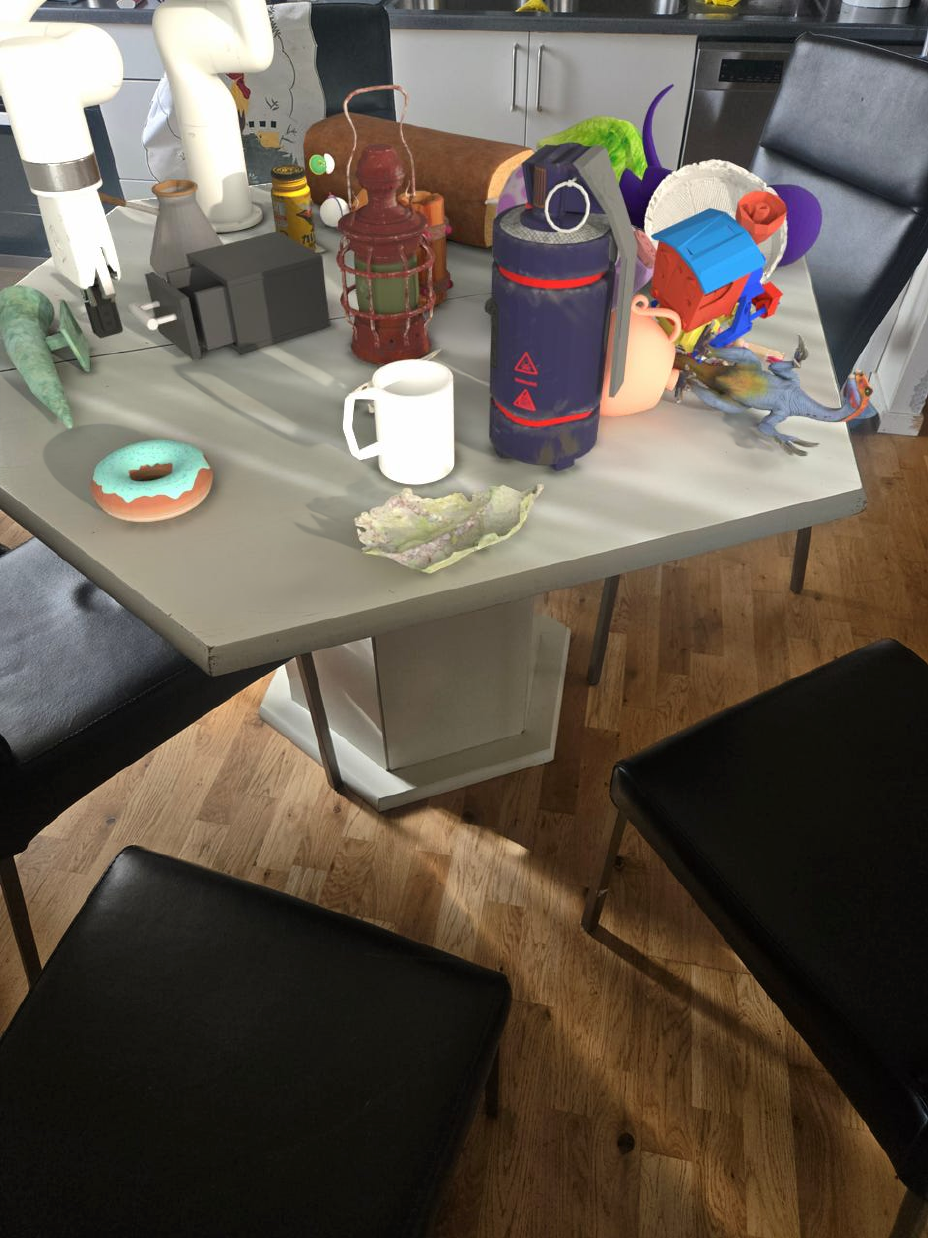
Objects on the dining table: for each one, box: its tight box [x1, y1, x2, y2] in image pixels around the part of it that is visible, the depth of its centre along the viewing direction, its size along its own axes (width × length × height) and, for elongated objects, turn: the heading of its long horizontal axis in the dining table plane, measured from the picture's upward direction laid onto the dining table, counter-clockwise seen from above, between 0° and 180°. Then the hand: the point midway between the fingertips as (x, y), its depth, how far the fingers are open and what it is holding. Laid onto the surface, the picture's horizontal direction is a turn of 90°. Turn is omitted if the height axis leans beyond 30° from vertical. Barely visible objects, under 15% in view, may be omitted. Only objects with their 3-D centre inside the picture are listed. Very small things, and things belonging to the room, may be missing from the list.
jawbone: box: [347, 348, 442, 414], centre depth 110 cm, size 17×5×2 cm, turn 148°
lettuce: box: [536, 115, 648, 185], centre depth 150 cm, size 15×22×15 cm, turn 54°
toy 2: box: [495, 164, 657, 312], centre depth 121 cm, size 17×23×30 cm
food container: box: [644, 159, 788, 285], centre depth 127 cm, size 20×20×7 cm
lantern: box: [335, 84, 436, 365], centre depth 107 cm, size 12×12×30 cm
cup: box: [342, 358, 455, 485], centre depth 93 cm, size 8×12×10 cm
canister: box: [488, 142, 638, 472], centre depth 89 cm, size 14×12×30 cm
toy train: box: [649, 191, 787, 364], centre depth 100 cm, size 10×16×15 cm, turn 118°
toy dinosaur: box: [672, 319, 874, 457], centre depth 102 cm, size 11×22×20 cm
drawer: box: [127, 265, 236, 361], centre depth 115 cm, size 16×10×8 cm, turn 128°
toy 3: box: [619, 83, 823, 268], centre depth 135 cm, size 21×24×30 cm
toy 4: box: [675, 326, 786, 366], centre depth 110 cm, size 7×6×15 cm
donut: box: [90, 438, 214, 523], centre depth 91 cm, size 12×12×4 cm
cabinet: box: [186, 230, 331, 355], centre depth 119 cm, size 14×12×10 cm
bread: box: [302, 111, 536, 249], centre depth 150 cm, size 16×39×13 cm, turn 54°
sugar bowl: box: [599, 293, 681, 417], centre depth 101 cm, size 12×14×10 cm
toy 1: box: [309, 154, 350, 233], centre depth 147 cm, size 6×12×8 cm
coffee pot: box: [97, 179, 224, 281], centre depth 128 cm, size 21×12×15 cm, turn 114°
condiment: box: [270, 164, 327, 254], centre depth 139 cm, size 7×8×12 cm
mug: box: [350, 188, 454, 308], centre depth 124 cm, size 15×8×15 cm, turn 71°
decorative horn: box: [0, 284, 91, 430], centre depth 109 cm, size 7×11×30 cm
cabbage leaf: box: [354, 482, 545, 574], centre depth 85 cm, size 16×8×15 cm
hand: (108, 332), depth 110 cm, fingers closed
